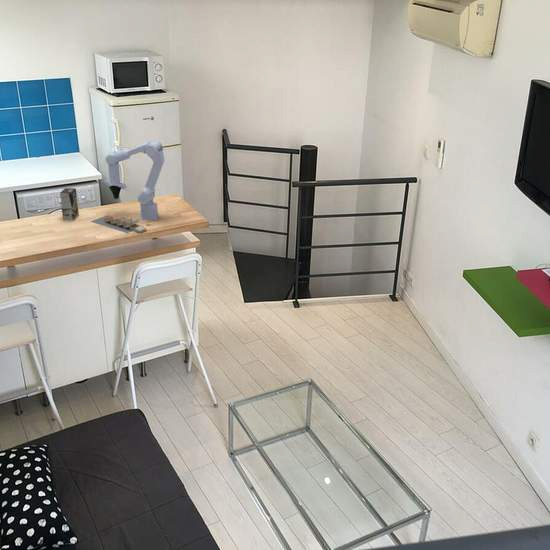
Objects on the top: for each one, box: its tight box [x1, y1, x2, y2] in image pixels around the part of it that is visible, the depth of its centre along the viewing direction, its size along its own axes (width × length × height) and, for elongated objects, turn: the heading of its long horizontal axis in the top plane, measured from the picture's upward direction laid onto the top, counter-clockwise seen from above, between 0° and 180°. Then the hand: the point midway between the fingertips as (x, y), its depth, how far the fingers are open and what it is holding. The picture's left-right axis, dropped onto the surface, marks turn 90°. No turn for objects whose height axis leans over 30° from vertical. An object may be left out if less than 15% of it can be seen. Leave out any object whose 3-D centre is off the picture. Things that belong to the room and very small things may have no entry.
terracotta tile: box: [104, 213, 121, 222], centre depth 339 cm, size 2×4×8 cm
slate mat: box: [90, 215, 144, 234], centre depth 339 cm, size 28×12×1 cm, turn 57°
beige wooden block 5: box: [129, 223, 147, 234], centre depth 331 cm, size 2×4×8 cm
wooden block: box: [123, 218, 140, 228], centre depth 332 cm, size 2×4×8 cm
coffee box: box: [59, 187, 80, 222], centre depth 342 cm, size 9×6×16 cm
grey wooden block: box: [116, 217, 133, 226], centre depth 335 cm, size 2×4×8 cm
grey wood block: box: [110, 215, 127, 224], centre depth 337 cm, size 2×4×8 cm
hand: (116, 198), depth 348 cm, fingers closed
